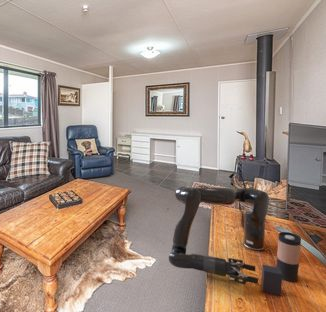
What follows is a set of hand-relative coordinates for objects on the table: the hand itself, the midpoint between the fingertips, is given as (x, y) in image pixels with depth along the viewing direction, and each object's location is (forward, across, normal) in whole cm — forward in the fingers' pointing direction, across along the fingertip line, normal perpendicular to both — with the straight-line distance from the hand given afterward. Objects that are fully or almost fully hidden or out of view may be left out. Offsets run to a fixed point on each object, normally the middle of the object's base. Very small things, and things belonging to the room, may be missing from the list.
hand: (256, 274), depth 99 cm
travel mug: (+13, +13, +6) cm, 19 cm away
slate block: (+5, 0, +6) cm, 8 cm away
